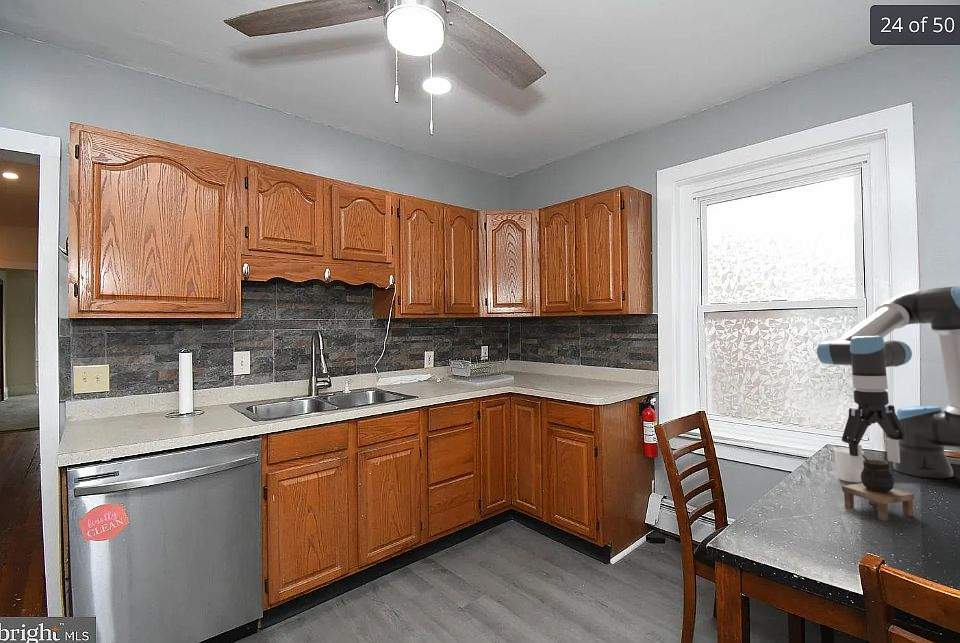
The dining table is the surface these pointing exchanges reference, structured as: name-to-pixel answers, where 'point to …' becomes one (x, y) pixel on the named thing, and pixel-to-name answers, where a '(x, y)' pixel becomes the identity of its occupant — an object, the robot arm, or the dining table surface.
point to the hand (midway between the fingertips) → (875, 464)
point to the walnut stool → (879, 499)
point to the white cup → (846, 466)
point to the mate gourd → (877, 475)
